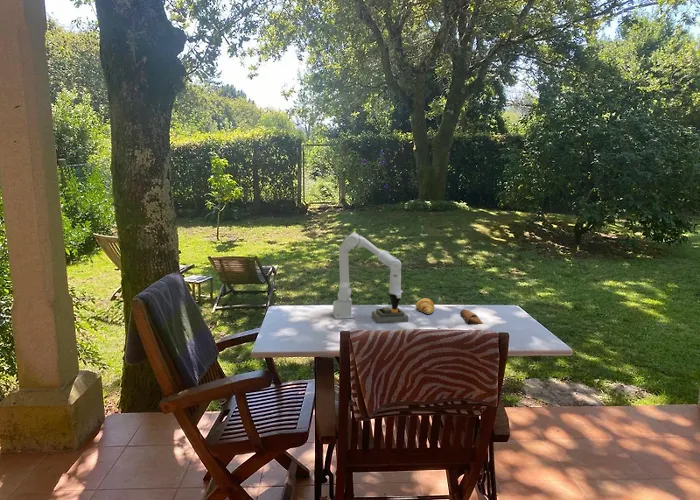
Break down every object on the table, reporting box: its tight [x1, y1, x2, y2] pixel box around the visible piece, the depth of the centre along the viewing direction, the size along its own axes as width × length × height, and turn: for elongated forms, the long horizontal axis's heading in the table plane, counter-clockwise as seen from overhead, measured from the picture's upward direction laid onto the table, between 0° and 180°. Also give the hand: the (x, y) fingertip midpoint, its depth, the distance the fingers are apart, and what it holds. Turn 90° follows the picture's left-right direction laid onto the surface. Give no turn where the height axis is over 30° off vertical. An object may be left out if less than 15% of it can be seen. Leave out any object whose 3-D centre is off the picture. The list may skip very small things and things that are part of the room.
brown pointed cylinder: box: [460, 308, 484, 326], centre depth 274 cm, size 18×7×7 cm
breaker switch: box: [381, 307, 398, 313], centre depth 272 cm, size 7×5×2 cm
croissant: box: [415, 297, 435, 315], centre depth 291 cm, size 21×10×8 cm, turn 4°
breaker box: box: [371, 307, 409, 324], centre depth 273 cm, size 16×12×4 cm
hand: (394, 308), depth 273 cm, fingers closed
